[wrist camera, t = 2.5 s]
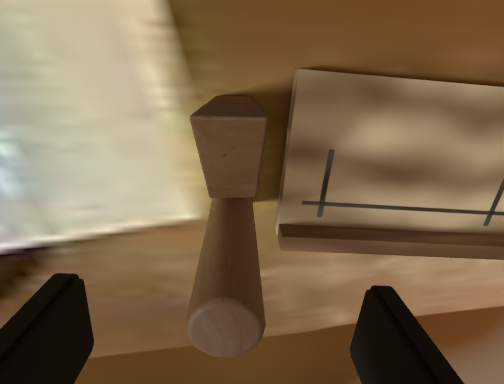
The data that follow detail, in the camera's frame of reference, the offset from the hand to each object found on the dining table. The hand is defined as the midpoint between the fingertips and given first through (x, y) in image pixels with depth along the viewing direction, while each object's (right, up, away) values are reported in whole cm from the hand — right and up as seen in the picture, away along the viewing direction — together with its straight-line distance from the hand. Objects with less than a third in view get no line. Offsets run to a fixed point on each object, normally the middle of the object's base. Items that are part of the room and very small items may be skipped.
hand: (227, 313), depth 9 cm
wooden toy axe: (-1, +8, +18) cm, 20 cm away
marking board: (+18, +7, +20) cm, 27 cm away
